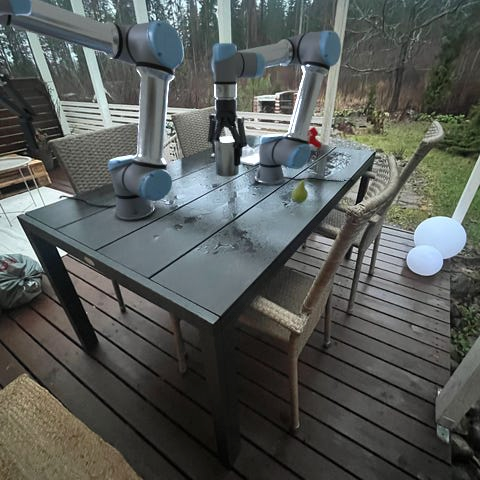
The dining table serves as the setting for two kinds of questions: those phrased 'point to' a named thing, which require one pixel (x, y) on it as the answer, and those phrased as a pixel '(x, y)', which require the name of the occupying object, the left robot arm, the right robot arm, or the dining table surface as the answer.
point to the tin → (225, 157)
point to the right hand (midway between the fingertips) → (227, 163)
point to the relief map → (249, 155)
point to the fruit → (300, 192)
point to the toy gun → (313, 137)
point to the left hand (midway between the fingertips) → (7, 155)
